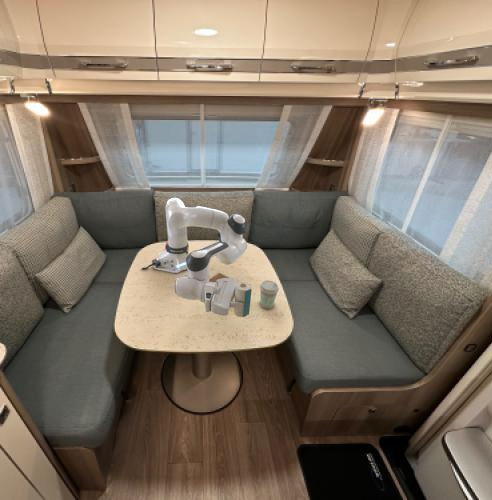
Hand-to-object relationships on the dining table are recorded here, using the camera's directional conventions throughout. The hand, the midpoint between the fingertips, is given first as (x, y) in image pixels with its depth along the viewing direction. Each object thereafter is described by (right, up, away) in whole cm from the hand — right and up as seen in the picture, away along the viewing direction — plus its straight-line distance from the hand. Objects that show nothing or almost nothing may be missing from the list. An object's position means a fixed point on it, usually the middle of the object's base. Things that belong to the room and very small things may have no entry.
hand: (244, 298), depth 108 cm
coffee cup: (+14, -7, +22) cm, 27 cm away
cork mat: (-6, 0, +35) cm, 35 cm away
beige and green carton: (-1, -7, +4) cm, 8 cm away
